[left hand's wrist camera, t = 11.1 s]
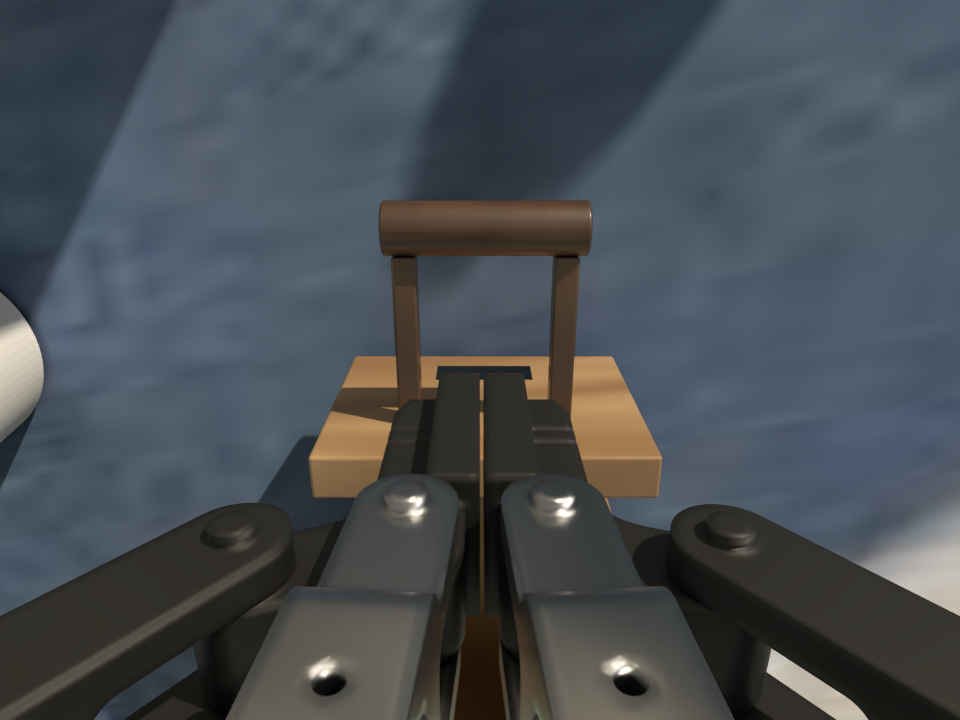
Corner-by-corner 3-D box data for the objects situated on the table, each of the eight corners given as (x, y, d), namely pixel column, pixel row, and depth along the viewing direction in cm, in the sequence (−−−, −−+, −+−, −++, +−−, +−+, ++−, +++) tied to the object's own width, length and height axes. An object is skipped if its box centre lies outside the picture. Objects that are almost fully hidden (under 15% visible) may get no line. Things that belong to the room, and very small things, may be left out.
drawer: (341, 176, 21) (281, 215, 14) (626, 176, 21) (692, 215, 14) (385, 775, 30) (361, 955, 24) (579, 775, 30) (606, 955, 24)
